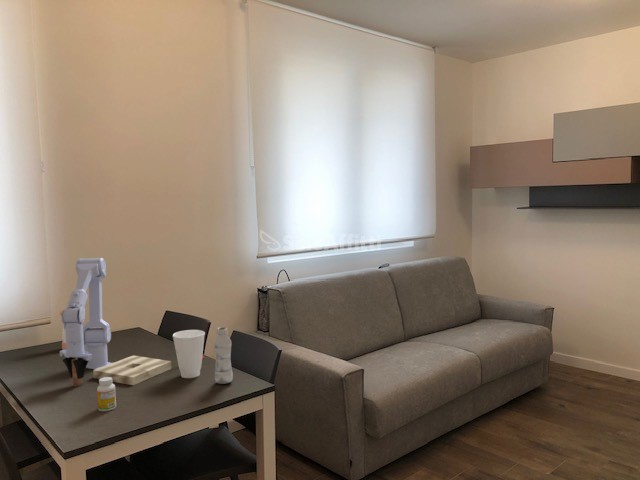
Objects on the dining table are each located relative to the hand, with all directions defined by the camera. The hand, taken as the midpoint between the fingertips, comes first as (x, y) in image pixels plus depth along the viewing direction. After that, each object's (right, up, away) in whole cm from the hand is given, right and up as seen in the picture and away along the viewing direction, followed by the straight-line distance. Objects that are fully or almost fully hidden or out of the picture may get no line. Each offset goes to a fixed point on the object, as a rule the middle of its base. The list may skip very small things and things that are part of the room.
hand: (77, 377), depth 194 cm
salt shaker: (-24, 0, +48) cm, 54 cm away
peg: (0, -3, 0) cm, 3 cm away
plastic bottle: (+53, -2, 0) cm, 53 cm away
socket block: (+16, -2, +12) cm, 20 cm away
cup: (+39, -2, +9) cm, 40 cm away
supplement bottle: (+19, -5, -21) cm, 29 cm away
